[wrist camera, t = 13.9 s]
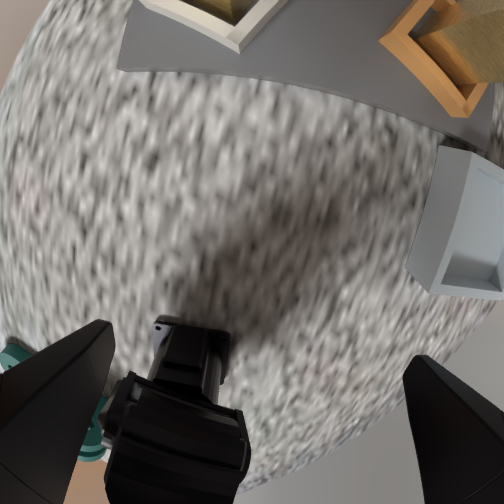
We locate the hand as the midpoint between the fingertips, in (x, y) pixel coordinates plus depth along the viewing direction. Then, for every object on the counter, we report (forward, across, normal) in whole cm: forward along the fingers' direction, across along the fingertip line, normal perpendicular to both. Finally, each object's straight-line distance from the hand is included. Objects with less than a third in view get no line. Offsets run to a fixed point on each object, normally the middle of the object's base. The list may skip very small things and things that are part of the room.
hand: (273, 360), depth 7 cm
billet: (+12, -10, -15) cm, 21 cm away
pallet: (+13, -3, -15) cm, 20 cm away
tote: (+13, -17, -3) cm, 22 cm away
